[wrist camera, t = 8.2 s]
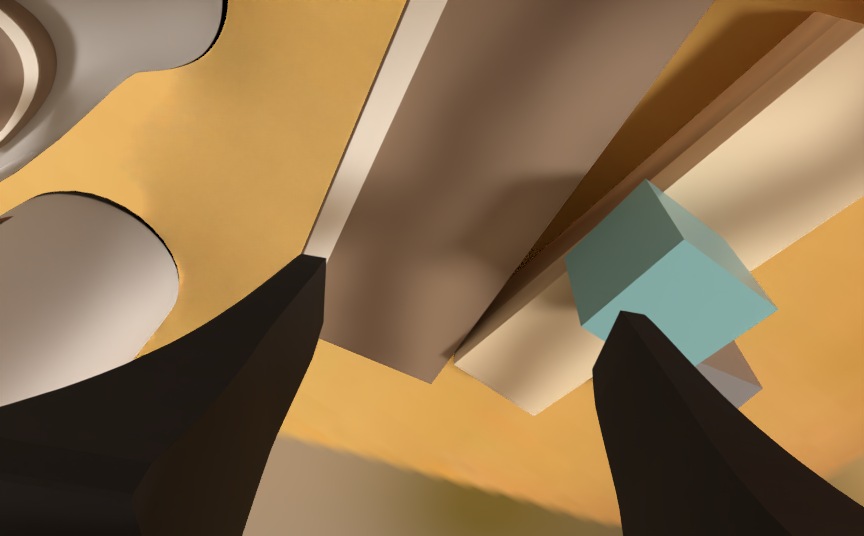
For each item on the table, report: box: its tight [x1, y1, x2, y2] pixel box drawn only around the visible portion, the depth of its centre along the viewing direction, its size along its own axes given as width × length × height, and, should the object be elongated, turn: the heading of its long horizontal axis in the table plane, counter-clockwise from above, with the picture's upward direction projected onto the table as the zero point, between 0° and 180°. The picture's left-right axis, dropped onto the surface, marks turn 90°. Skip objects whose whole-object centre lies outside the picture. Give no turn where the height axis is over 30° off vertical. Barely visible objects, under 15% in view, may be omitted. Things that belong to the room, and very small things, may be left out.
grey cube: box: [695, 340, 762, 409], centre depth 23 cm, size 4×4×4 cm
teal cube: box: [564, 179, 778, 366], centre depth 17 cm, size 4×4×4 cm
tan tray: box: [454, 11, 864, 416], centre depth 21 cm, size 5×18×3 cm, turn 141°
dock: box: [301, 0, 715, 384], centre depth 19 cm, size 8×20×2 cm, turn 154°
